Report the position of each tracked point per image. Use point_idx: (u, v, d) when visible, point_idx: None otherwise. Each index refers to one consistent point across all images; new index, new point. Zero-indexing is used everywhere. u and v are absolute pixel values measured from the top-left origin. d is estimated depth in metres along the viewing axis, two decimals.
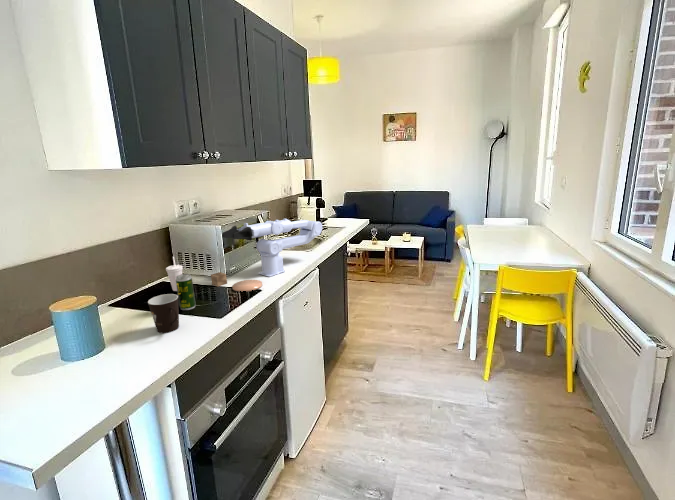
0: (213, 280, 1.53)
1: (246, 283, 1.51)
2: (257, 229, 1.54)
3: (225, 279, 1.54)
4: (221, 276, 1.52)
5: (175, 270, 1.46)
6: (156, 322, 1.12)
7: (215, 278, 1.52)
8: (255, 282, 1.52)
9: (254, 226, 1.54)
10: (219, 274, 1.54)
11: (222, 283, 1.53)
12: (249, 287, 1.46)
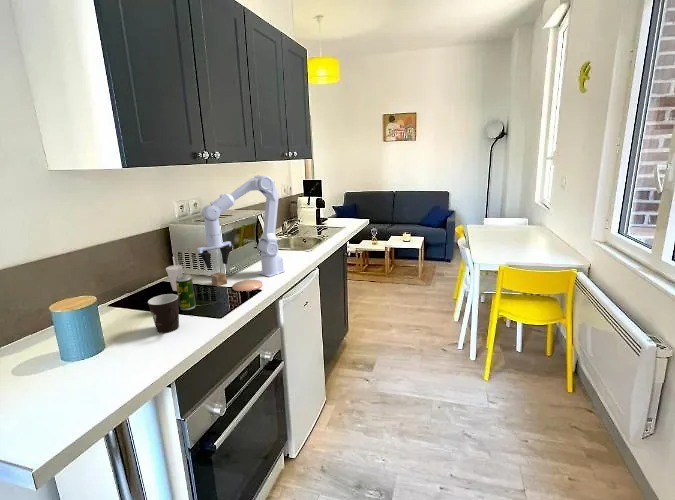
0: (213, 280, 1.53)
1: (246, 283, 1.51)
2: (206, 237, 1.48)
3: (225, 279, 1.54)
4: (221, 276, 1.52)
5: (175, 270, 1.46)
6: (156, 322, 1.12)
7: (215, 278, 1.52)
8: (255, 282, 1.52)
9: None
10: (219, 274, 1.54)
11: (222, 283, 1.53)
12: (249, 287, 1.46)
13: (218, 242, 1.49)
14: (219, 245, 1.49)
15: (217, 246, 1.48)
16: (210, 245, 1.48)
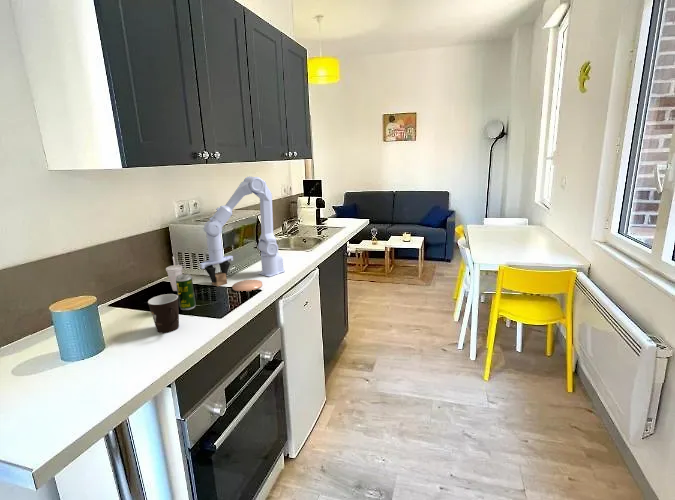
0: None
1: (246, 283, 1.51)
2: (208, 253, 1.50)
3: (225, 279, 1.54)
4: (221, 276, 1.52)
5: (175, 270, 1.46)
6: (156, 322, 1.12)
7: None
8: (255, 282, 1.52)
9: None
10: (219, 274, 1.53)
11: (222, 283, 1.53)
12: (249, 287, 1.46)
13: (220, 257, 1.50)
14: (221, 260, 1.51)
15: (219, 261, 1.50)
16: (212, 260, 1.49)
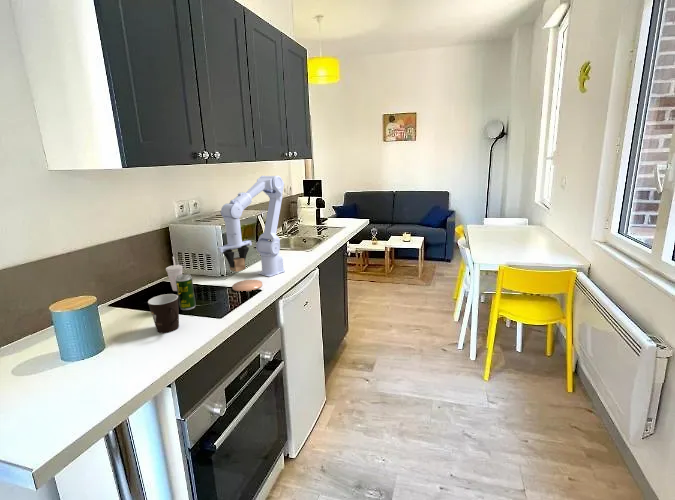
0: None
1: (246, 283, 1.51)
2: (227, 236, 1.45)
3: (243, 264, 1.49)
4: (239, 261, 1.47)
5: (175, 270, 1.46)
6: (156, 322, 1.12)
7: None
8: (255, 282, 1.52)
9: None
10: (237, 259, 1.48)
11: (240, 268, 1.48)
12: (249, 287, 1.46)
13: (239, 241, 1.45)
14: (240, 244, 1.46)
15: (238, 245, 1.45)
16: (231, 244, 1.44)
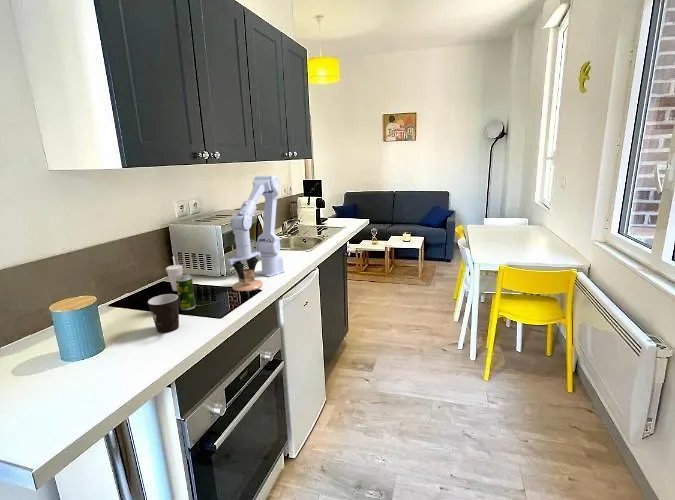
0: None
1: (246, 283, 1.51)
2: (236, 248, 1.45)
3: (253, 275, 1.49)
4: (249, 272, 1.47)
5: (175, 270, 1.46)
6: (156, 322, 1.12)
7: None
8: (255, 282, 1.52)
9: None
10: (246, 270, 1.48)
11: (250, 280, 1.48)
12: (249, 287, 1.46)
13: (248, 253, 1.45)
14: (249, 256, 1.45)
15: (247, 257, 1.45)
16: (240, 256, 1.44)
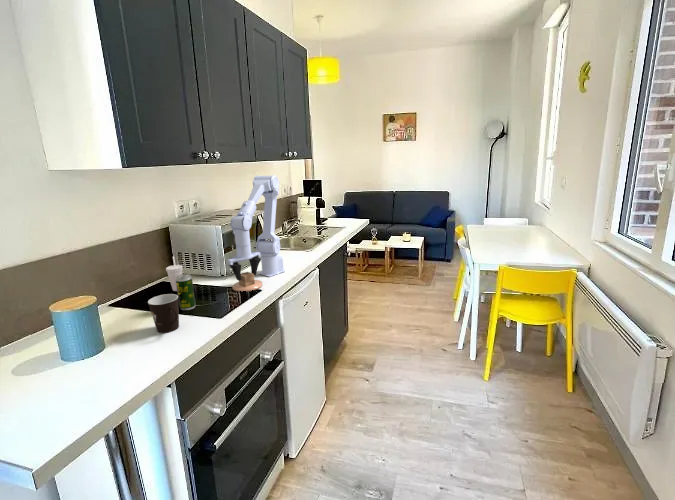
0: (241, 280, 1.48)
1: None
2: (236, 248, 1.45)
3: (253, 279, 1.49)
4: (249, 276, 1.48)
5: (175, 270, 1.46)
6: (156, 322, 1.12)
7: (243, 278, 1.47)
8: (255, 282, 1.52)
9: None
10: (247, 274, 1.49)
11: (250, 283, 1.49)
12: (249, 287, 1.46)
13: (248, 253, 1.45)
14: (249, 256, 1.45)
15: (247, 257, 1.45)
16: (240, 256, 1.44)
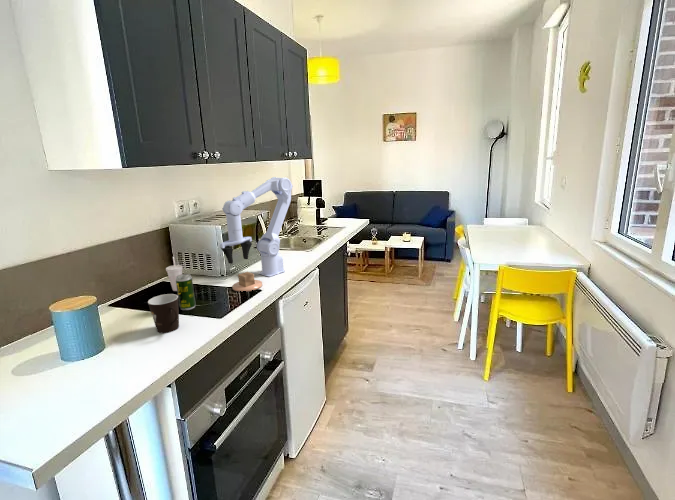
0: (241, 280, 1.48)
1: None
2: (228, 233, 1.50)
3: (253, 279, 1.49)
4: (249, 276, 1.48)
5: (175, 270, 1.46)
6: (156, 322, 1.12)
7: (243, 278, 1.47)
8: (255, 282, 1.52)
9: None
10: (247, 274, 1.49)
11: (250, 283, 1.49)
12: (249, 287, 1.46)
13: (240, 237, 1.50)
14: (241, 240, 1.50)
15: (239, 241, 1.50)
16: (232, 240, 1.49)
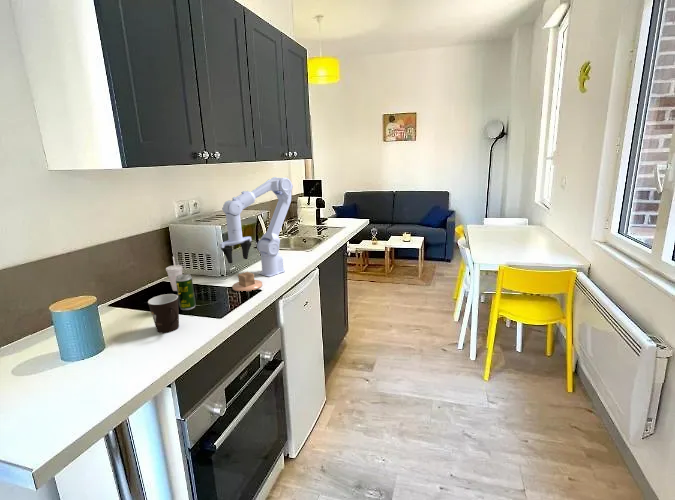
0: (241, 280, 1.48)
1: None
2: (228, 232, 1.50)
3: (253, 279, 1.49)
4: (249, 276, 1.48)
5: (175, 270, 1.46)
6: (156, 322, 1.12)
7: (243, 278, 1.47)
8: (255, 282, 1.52)
9: None
10: (247, 274, 1.49)
11: (250, 283, 1.49)
12: (249, 287, 1.46)
13: (239, 237, 1.50)
14: (240, 240, 1.51)
15: (238, 241, 1.50)
16: (232, 240, 1.49)
